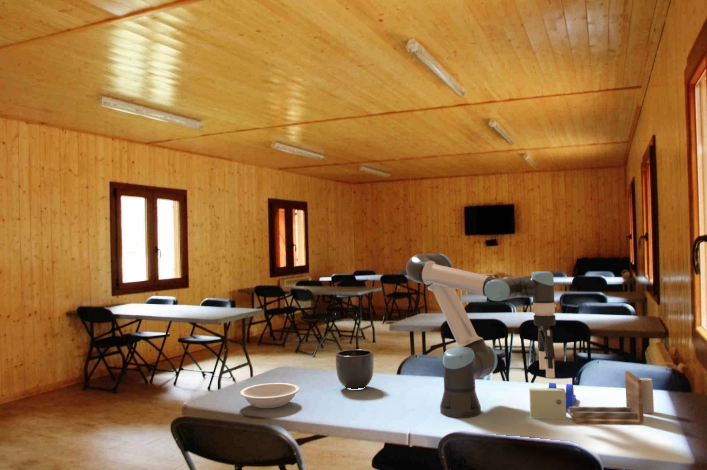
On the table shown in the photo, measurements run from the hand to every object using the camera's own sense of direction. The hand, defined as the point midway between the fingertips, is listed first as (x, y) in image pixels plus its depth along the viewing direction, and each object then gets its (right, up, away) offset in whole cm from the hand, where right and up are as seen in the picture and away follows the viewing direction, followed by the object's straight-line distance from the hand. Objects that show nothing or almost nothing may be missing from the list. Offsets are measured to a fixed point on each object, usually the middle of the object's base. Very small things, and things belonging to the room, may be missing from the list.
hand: (546, 373), depth 207 cm
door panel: (0, -16, 0) cm, 16 cm away
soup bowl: (-104, -20, +26) cm, 109 cm away
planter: (-69, -19, +50) cm, 87 cm away
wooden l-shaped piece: (+19, -15, -3) cm, 25 cm away
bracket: (+12, -16, +16) cm, 26 cm away
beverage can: (+37, -15, +2) cm, 40 cm away
